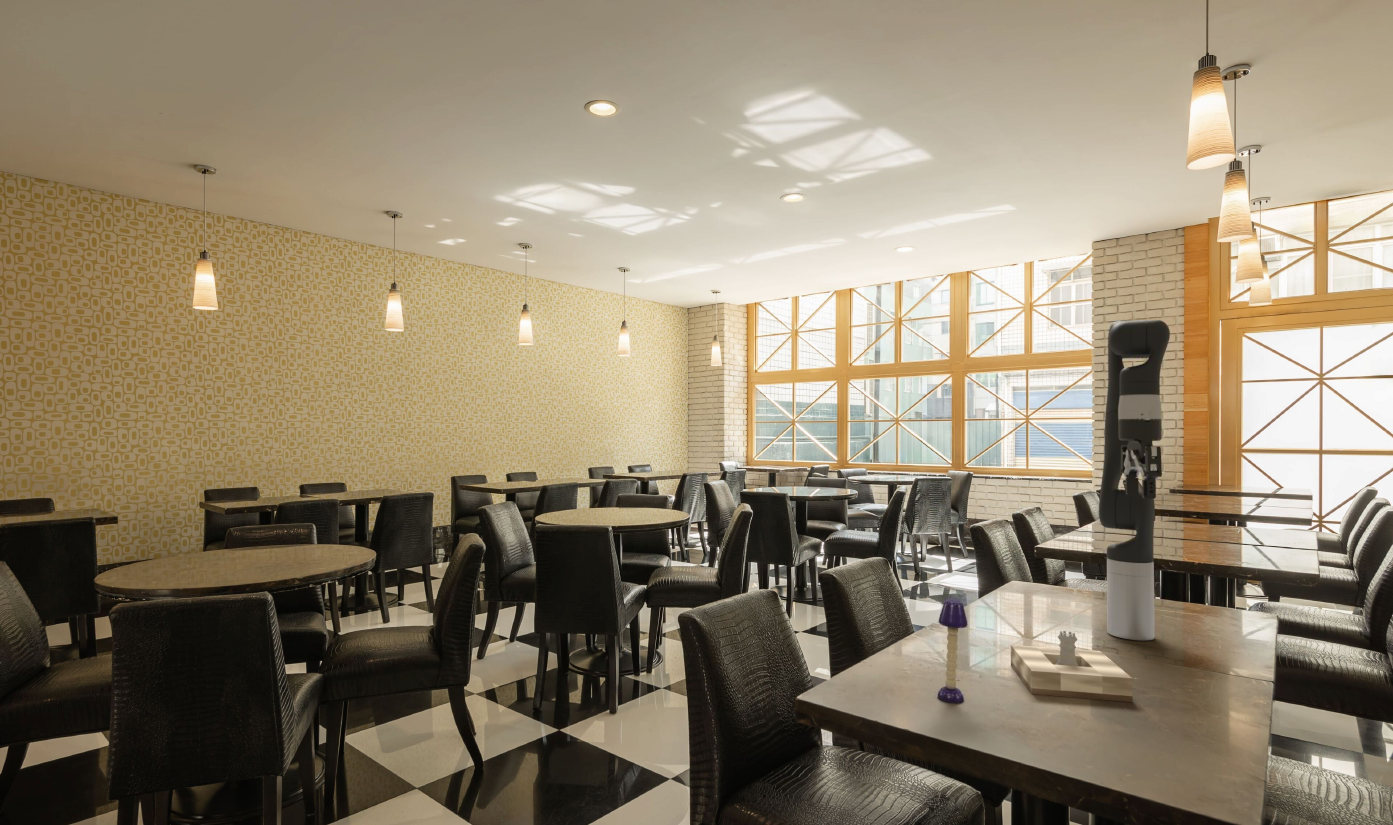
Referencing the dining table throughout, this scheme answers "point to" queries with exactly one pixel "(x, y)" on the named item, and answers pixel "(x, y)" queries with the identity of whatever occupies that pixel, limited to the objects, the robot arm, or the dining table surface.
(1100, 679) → the socket block
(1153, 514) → the robot arm
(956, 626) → the toy lamp
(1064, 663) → the rook chess piece
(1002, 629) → the dining table surface
